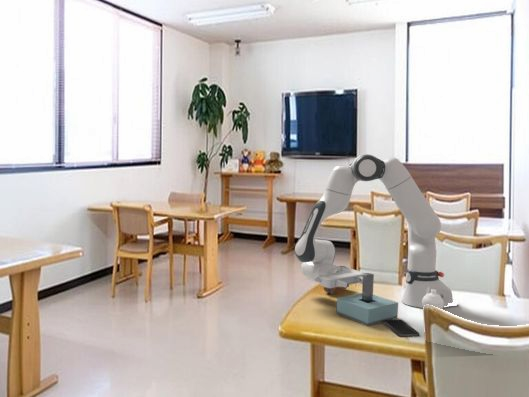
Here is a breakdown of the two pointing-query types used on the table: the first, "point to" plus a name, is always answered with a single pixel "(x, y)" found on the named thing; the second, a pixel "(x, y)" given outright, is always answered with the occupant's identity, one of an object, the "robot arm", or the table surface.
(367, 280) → the pin
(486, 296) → the table surface
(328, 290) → the tin
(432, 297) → the spinning top
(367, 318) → the hole block
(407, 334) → the phone
